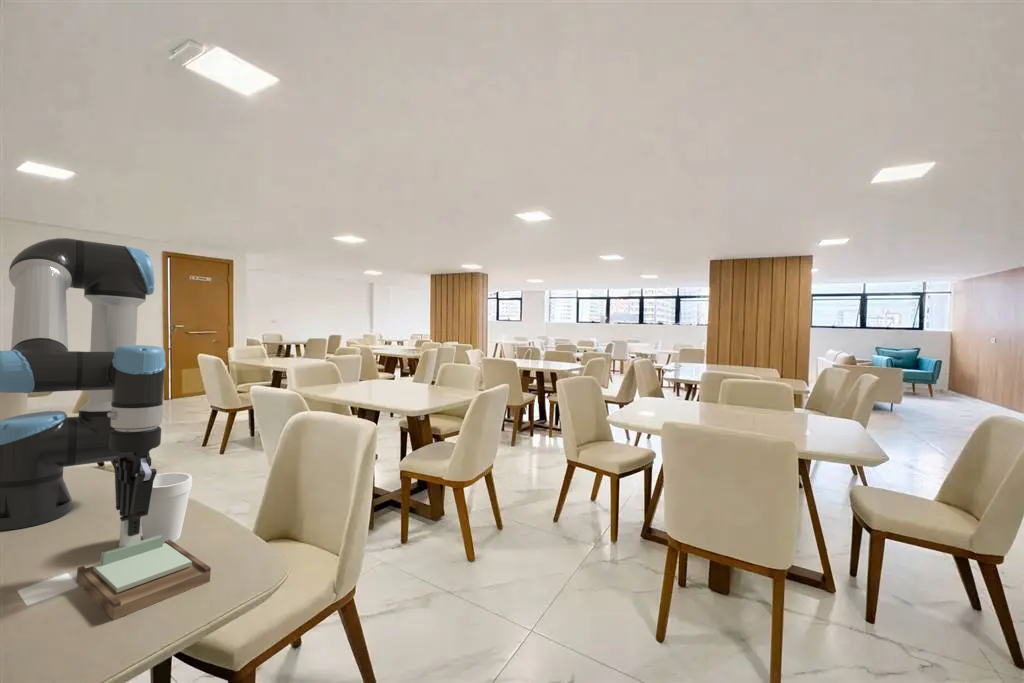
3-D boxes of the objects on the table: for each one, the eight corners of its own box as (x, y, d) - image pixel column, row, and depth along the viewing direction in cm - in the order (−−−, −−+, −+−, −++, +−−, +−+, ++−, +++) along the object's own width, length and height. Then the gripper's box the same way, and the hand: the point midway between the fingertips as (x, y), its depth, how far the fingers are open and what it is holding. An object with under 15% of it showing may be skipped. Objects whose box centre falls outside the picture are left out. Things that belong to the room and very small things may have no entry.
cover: (92, 570, 80) (93, 554, 80) (165, 546, 89) (166, 533, 89) (117, 592, 74) (117, 576, 74) (191, 565, 84) (192, 550, 83)
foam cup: (132, 536, 97) (135, 477, 96) (184, 525, 103) (187, 469, 103) (136, 554, 90) (140, 490, 90) (192, 541, 96) (195, 482, 96)
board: (76, 581, 80) (77, 567, 80) (168, 551, 92) (169, 539, 92) (113, 620, 71) (114, 604, 71) (209, 581, 83) (210, 567, 83)
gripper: (97, 424, 84) (91, 546, 85) (125, 436, 78) (117, 569, 78) (146, 419, 91) (139, 533, 91) (175, 430, 84) (168, 553, 85)
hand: (129, 549), depth 85 cm, fingers closed
